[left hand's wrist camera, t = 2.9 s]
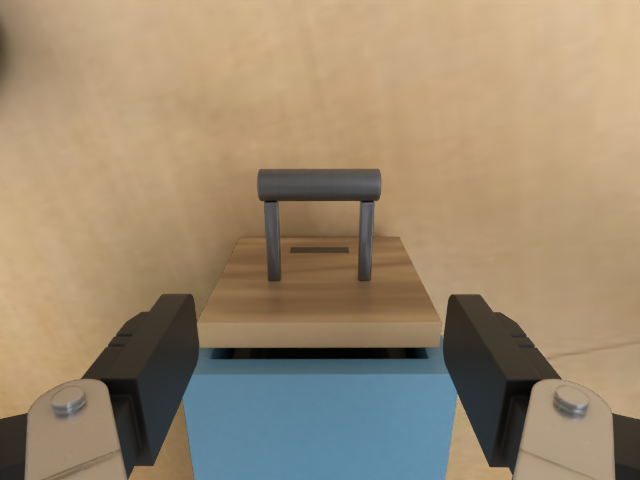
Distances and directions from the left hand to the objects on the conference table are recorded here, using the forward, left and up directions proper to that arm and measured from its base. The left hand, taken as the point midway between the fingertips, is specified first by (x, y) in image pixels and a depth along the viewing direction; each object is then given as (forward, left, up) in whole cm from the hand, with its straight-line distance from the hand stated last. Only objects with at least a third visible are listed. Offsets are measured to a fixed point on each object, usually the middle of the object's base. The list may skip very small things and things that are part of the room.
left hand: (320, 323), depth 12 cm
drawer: (-9, +6, -14) cm, 17 cm away
